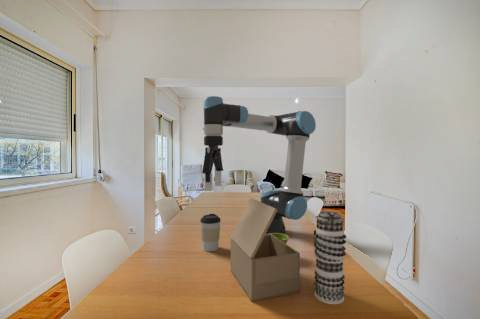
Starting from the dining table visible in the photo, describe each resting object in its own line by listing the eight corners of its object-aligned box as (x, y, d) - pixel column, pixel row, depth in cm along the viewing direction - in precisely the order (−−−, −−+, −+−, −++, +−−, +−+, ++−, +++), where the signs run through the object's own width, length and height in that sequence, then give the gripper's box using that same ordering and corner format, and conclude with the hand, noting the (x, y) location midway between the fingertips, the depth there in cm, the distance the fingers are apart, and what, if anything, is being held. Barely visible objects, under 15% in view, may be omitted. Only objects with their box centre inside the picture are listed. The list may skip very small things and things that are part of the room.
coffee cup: (217, 253, 108) (217, 218, 108) (197, 251, 110) (197, 217, 109) (222, 245, 117) (222, 213, 117) (204, 244, 119) (204, 212, 118)
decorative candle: (328, 308, 69) (329, 218, 69) (306, 291, 78) (307, 211, 77) (352, 301, 73) (353, 215, 73) (329, 285, 82) (330, 208, 81)
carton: (269, 264, 97) (270, 233, 97) (300, 292, 77) (300, 253, 77) (230, 270, 92) (230, 237, 92) (252, 302, 72) (252, 260, 72)
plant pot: (261, 254, 107) (261, 234, 107) (280, 251, 110) (280, 231, 110) (273, 263, 98) (273, 241, 98) (293, 259, 102) (293, 238, 102)
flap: (252, 198, 93) (250, 197, 93) (277, 209, 75) (275, 208, 75) (232, 238, 91) (230, 237, 91) (252, 259, 73) (250, 258, 72)
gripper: (213, 137, 115) (213, 184, 115) (193, 133, 90) (193, 192, 91) (229, 137, 113) (229, 184, 114) (213, 133, 89) (213, 193, 89)
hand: (213, 188), depth 102 cm, fingers open, 13 cm apart
